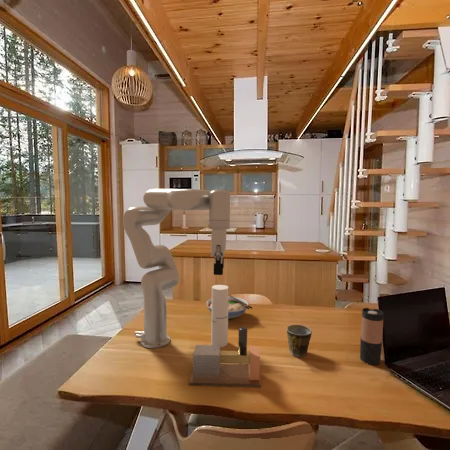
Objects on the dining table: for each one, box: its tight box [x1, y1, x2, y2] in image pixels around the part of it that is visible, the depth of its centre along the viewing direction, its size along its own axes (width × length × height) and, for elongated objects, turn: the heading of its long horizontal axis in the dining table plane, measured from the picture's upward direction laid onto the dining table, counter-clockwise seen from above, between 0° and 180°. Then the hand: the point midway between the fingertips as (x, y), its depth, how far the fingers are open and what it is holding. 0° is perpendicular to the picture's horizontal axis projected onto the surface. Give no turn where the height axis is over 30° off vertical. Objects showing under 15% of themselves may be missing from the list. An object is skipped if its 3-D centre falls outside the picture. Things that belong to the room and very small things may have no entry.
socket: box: [248, 345, 261, 380], centre depth 105 cm, size 3×7×8 cm, turn 179°
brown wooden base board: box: [188, 344, 262, 388], centre depth 106 cm, size 24×12×9 cm, turn 89°
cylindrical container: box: [210, 284, 229, 348], centre depth 129 cm, size 7×7×25 cm
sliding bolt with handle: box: [220, 326, 250, 364], centre depth 105 cm, size 16×3×12 cm, turn 89°
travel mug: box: [359, 307, 384, 366], centre depth 117 cm, size 8×8×20 cm
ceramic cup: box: [286, 324, 313, 358], centre depth 121 cm, size 13×10×10 cm
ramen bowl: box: [206, 293, 253, 320], centre depth 160 cm, size 25×23×8 cm
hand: (218, 271), depth 109 cm, fingers open, 9 cm apart
